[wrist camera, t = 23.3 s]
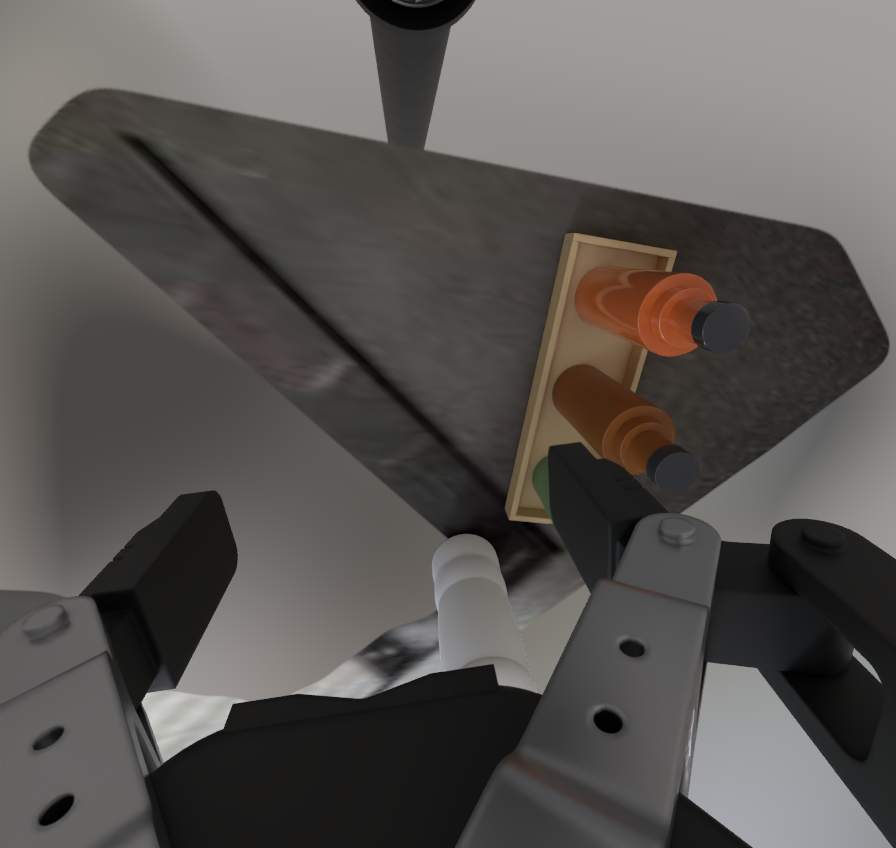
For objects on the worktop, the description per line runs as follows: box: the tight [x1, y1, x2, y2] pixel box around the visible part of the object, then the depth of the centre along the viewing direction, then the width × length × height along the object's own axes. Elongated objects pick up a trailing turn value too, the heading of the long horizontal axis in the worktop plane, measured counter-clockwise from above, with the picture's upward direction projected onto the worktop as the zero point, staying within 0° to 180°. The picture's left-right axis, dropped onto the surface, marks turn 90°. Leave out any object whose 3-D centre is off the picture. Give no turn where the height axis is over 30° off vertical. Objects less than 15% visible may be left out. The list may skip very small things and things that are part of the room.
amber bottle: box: [552, 365, 698, 493], centre depth 38 cm, size 5×5×18 cm
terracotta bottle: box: [574, 266, 751, 357], centre depth 35 cm, size 5×5×18 cm
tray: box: [505, 233, 677, 524], centre depth 46 cm, size 27×9×2 cm, turn 171°
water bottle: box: [432, 534, 538, 693], centre depth 41 cm, size 7×7×25 cm
